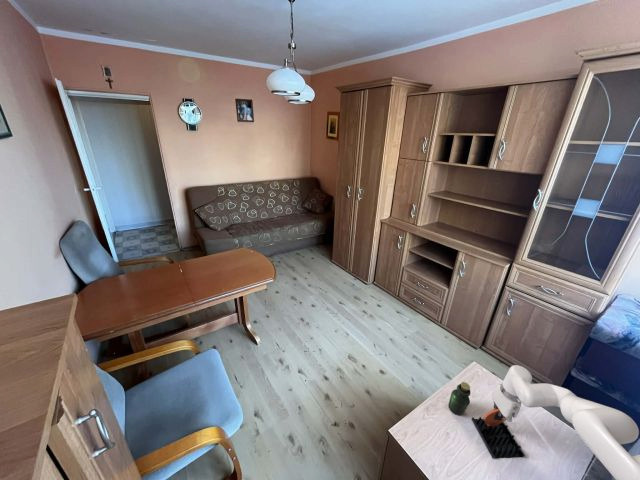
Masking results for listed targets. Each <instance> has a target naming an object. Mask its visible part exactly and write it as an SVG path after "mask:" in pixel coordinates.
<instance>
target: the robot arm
mask: <svg viewBox="0 0 640 480" xmlns="http://www.w3.org/2000/svg"><path fill="white" fill-rule="evenodd" d="M532 381H533V375H532V373H531V372H530V370H528V369H527V368H525V367H524V366H522V365H518V364H514V365H511V366H510V367H509V369H508V371H507V373H506V375H505V377H504V378H503V380H502V382H501V383H500V384H499V385H497V386H496V387H495V389H494V390H493V392H492V394H491V399H492V401H493V410H494V409H499V410H500V412H499V413H497V414H496V415H495V417H494V419H495V420H499V421H500V420H502V418H505V419H506V421H507V422H508V423H512V422H513V419H516V418H517V416H518V415H519V412H520V411H521V407H522V405H523V406H525V407H527V408H529V409H530V408H543V407H557V408H560V412H561V415H562V416H563V418H564V419H565V420H566V421H567V422H568V423H570V424H572V426H573V428H574V430H575V432H576V433H577V435H578V436H579V438H580V440H582V441H583V442H584V444H585V445H586V446H587V447H588V449H589V451H591V453H593V454H594V456H595V457H596V458H597V460H599V461H600V463H601V464H602V465H603V466H604V468H605V469H606V470H607V471H608V472H609V474H611V476H612V477H613V478H614V480H640V454H630V453H629V452H628V451H627V450H626V448H624V447H623V446H622V445H626V444H631V443H633V442H635V441H636V440H637V439H638V438H639V434H640V430H639V427H638V425H637V423H636V422H635V421H634V420H633V418H632V417H631V416H630V415H627V413H625V412H623V411H621V410H619V409H617V408H613V407H610V406H607V405H604V404H601V403H597V402H595V401H592V400H589V399H585V398H583V397H580V396H577V395H576V394H575V393H573V392H572V391H571V390H569V389H568V388H565V387H562V386H559V385H555V384H552V383H546V382H545V383H544V382H542V383H532Z"/></svg>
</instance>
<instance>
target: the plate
mask: <svg viewBox="0 0 640 480" xmlns="http://www.w3.org/2000/svg"><path fill="white" fill-rule="evenodd" d="M499 412H500V410H499V409H494V408H493V409H492V410H490V411H489V410H488V412H486V413H485V414H484V416H483V418H482V419H484V421H485V423H486V424H487V425H488V426H497V425H498V424H501V423H503V422H504V423H505V422H506V421H507V420H506V419H505V418H502V420H500V421H499V420H495V419H494V417H495V415H496V414H497V413H499Z"/></svg>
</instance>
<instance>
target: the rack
mask: <svg viewBox="0 0 640 480" xmlns="http://www.w3.org/2000/svg"><path fill="white" fill-rule="evenodd" d="M471 421H472V423H473V425H474V427H475V429H476V430H477V432H478V434H479V436H480V438H481V440H482V442H483V444H484V446H485V447H486V449H487V451H488V453H489V455H490V456H491V457H490V458H492V459H495V460H496V459H517V458H518V459H520V458H521V459H522V458H525V457H526V454H525V453H524V452H523V450H522V446H521V445H519V444H518V442H517V440H516V439H515V435H514V434H512V433H511V431H510V429H509V425H507V424H506V423H505V422H503V423H501V424H498V425H497V426H488V425H487V424H486V423H485V421H484V419H483V418H482V416H479V417H478V418H475V417H473V416H472V417H471Z"/></svg>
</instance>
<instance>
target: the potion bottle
mask: <svg viewBox="0 0 640 480" xmlns="http://www.w3.org/2000/svg"><path fill="white" fill-rule="evenodd" d="M470 396H471V386H470V384H469V383H468V382H466V381H462V382H461V383H460V384H458V385H457V386H456V388H454V389H453V390H452V391H451V393H450V396H449V401H448V404H447V406H448V409H449V411H450V412H451V413H452V414H453V415H455V416H457V417H459V416H462V415H463V413H465V411H466V410H467V408H468V407H469V405H470V403H471V400H470Z"/></svg>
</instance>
